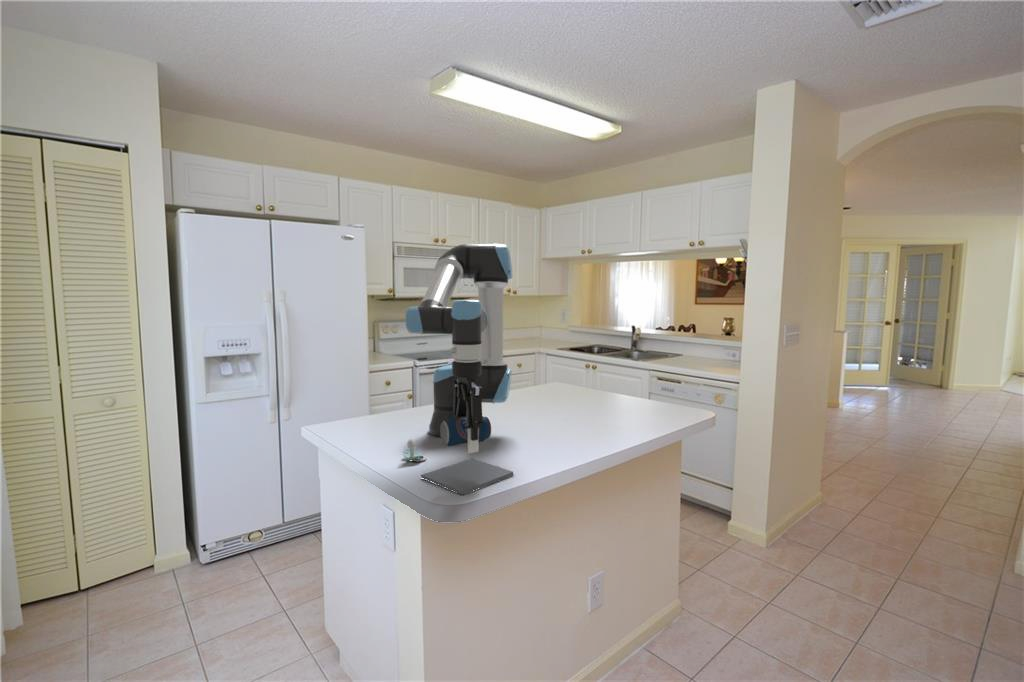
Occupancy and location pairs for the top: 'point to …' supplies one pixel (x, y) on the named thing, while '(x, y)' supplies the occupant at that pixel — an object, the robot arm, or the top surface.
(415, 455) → the pacifier
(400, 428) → the top surface
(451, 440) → the soda can
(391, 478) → the top surface
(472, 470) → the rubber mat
